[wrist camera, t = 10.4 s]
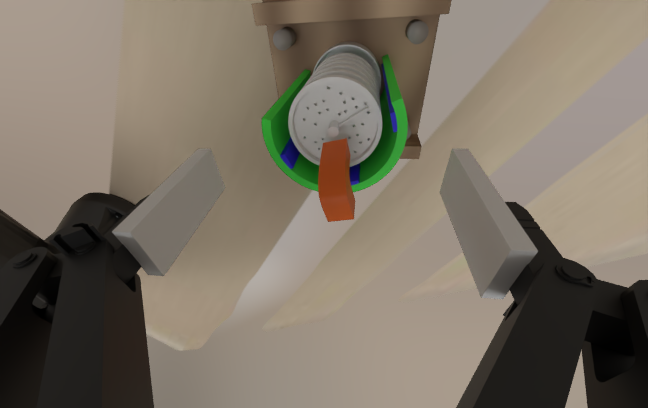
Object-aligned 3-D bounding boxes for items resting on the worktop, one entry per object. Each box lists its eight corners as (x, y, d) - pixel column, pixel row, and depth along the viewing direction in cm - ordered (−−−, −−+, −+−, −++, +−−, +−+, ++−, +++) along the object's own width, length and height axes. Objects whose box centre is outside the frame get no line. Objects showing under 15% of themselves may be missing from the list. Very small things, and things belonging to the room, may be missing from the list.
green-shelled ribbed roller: (379, 20, 23) (395, 64, 10) (401, 103, 28) (435, 213, 14) (294, 65, 27) (217, 145, 13) (326, 132, 31) (293, 245, 17)
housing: (289, 141, 34) (281, 158, 31) (267, -2, 24) (250, 0, 21) (413, 142, 32) (418, 160, 28) (441, -15, 22) (454, -16, 19)
